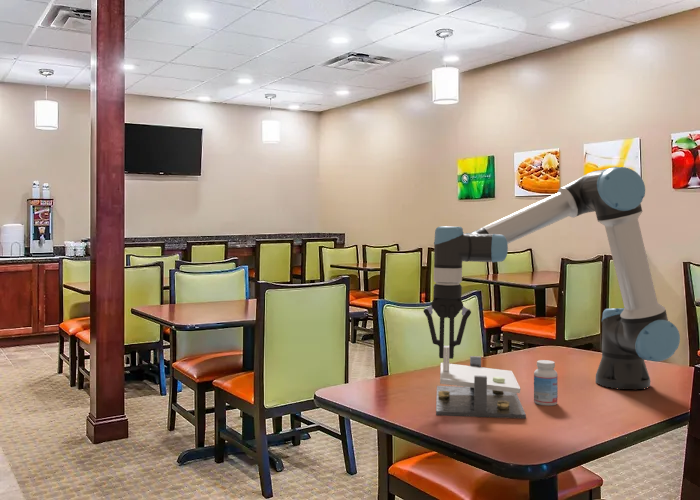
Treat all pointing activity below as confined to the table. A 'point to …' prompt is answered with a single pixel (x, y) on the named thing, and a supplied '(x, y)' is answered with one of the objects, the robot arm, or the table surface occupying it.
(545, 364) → the pill bottle
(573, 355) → the table surface
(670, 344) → the robot arm
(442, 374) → the stage
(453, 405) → the grey stand base
